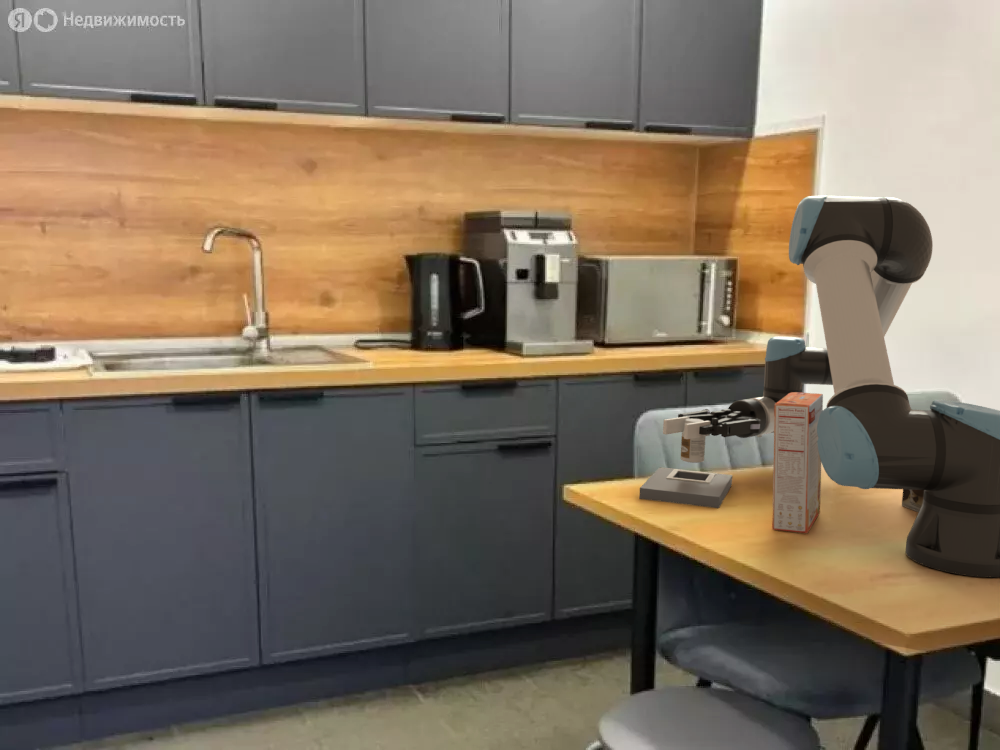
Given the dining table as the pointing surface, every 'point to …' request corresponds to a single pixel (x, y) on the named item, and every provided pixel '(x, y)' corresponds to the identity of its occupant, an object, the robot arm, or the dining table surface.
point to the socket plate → (686, 487)
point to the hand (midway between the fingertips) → (675, 429)
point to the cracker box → (796, 462)
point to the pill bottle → (692, 446)
